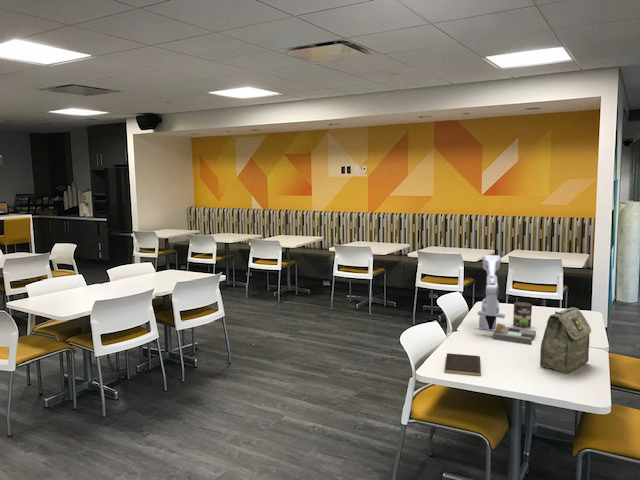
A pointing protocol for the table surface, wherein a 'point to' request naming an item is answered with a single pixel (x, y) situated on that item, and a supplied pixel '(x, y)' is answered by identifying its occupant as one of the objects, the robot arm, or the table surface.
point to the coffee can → (522, 315)
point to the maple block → (500, 328)
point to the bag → (565, 341)
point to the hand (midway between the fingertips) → (490, 328)
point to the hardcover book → (463, 364)
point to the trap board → (515, 335)
